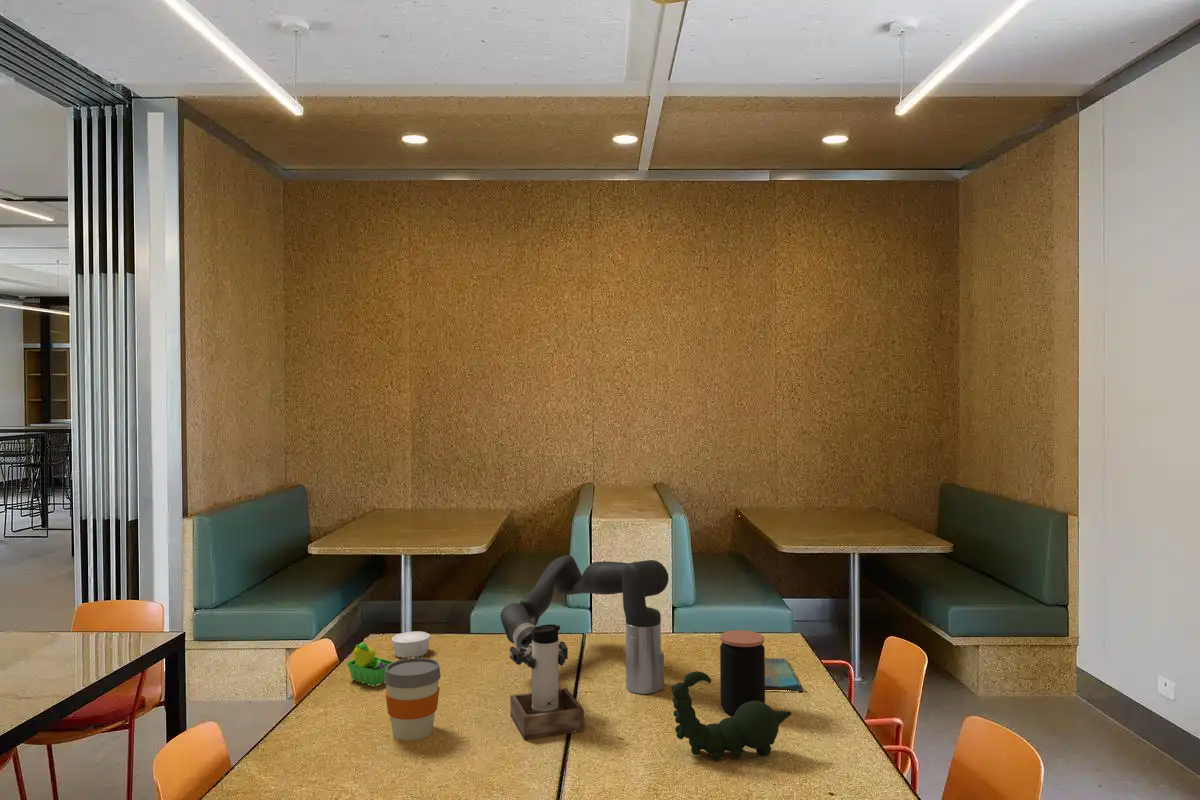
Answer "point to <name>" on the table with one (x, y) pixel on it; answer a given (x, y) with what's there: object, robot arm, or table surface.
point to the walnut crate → (547, 716)
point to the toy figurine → (725, 724)
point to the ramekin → (411, 644)
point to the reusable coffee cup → (412, 696)
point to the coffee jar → (741, 669)
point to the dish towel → (780, 676)
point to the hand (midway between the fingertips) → (547, 662)
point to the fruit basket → (367, 665)
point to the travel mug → (545, 668)
